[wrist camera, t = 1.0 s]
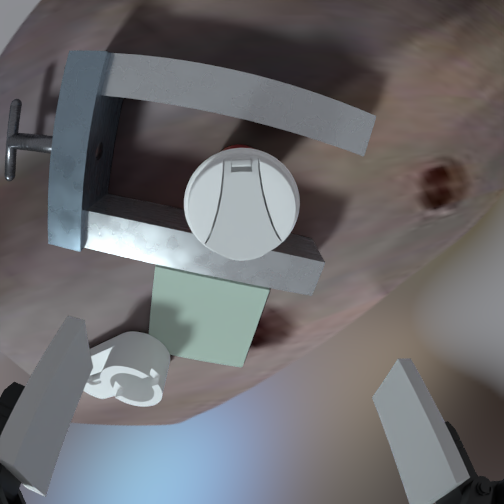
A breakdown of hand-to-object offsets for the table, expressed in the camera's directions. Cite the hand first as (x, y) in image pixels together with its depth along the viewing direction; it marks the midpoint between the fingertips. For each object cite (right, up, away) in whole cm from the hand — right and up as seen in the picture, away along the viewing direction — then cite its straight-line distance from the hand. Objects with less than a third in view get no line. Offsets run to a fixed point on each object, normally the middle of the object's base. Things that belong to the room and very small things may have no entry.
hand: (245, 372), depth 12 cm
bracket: (-21, -13, +31) cm, 40 cm away
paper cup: (-1, +13, +20) cm, 24 cm away
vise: (-9, +15, +19) cm, 26 cm away
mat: (-6, -4, +28) cm, 29 cm away
